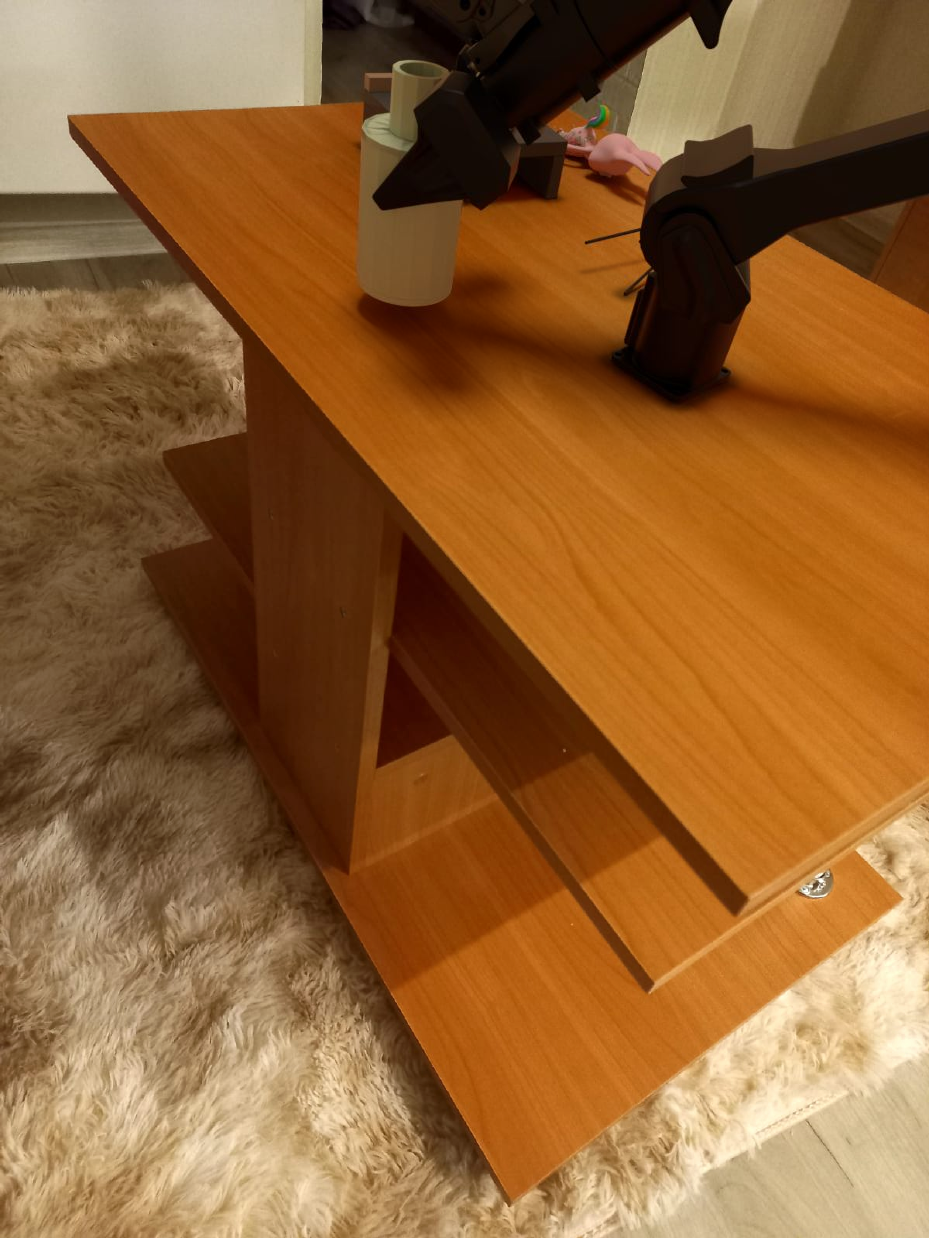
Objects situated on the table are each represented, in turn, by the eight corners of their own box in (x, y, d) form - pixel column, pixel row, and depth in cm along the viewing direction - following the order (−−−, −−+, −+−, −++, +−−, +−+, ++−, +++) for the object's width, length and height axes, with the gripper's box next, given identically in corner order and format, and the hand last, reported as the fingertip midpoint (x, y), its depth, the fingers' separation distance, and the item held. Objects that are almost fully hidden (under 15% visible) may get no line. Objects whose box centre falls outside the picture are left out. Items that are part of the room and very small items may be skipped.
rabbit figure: (535, 161, 91) (626, 197, 81) (541, 95, 87) (637, 124, 77) (583, 157, 93) (677, 191, 84) (591, 93, 90) (690, 121, 80)
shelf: (557, 198, 82) (571, 126, 77) (421, 208, 76) (428, 131, 72) (489, 140, 89) (498, 72, 85) (361, 145, 84) (364, 73, 79)
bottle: (471, 293, 63) (500, 82, 53) (396, 315, 59) (412, 94, 49) (412, 253, 66) (429, 47, 56) (337, 272, 62) (342, 56, 52)
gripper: (539, -149, 52) (352, 31, 60) (477, -106, 39) (252, 113, 47) (633, 33, 57) (450, 174, 65) (607, 123, 44) (383, 283, 53)
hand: (391, 182), depth 58 cm, fingers closed on bottle, 7 cm apart
